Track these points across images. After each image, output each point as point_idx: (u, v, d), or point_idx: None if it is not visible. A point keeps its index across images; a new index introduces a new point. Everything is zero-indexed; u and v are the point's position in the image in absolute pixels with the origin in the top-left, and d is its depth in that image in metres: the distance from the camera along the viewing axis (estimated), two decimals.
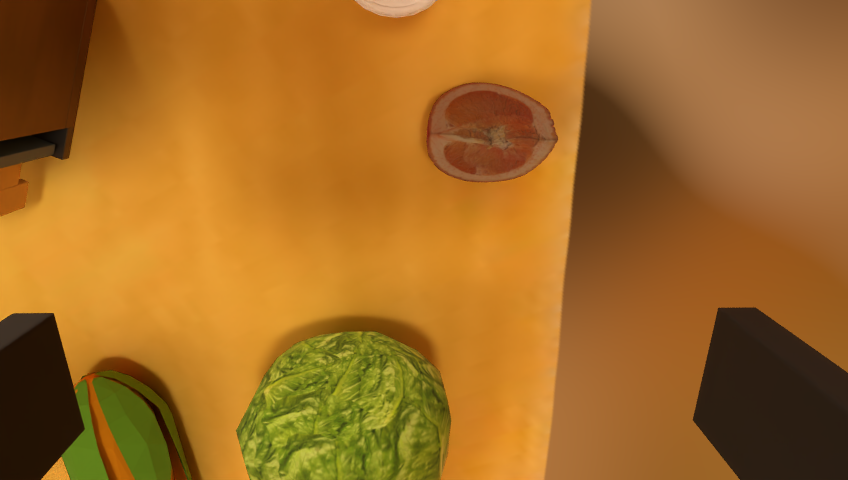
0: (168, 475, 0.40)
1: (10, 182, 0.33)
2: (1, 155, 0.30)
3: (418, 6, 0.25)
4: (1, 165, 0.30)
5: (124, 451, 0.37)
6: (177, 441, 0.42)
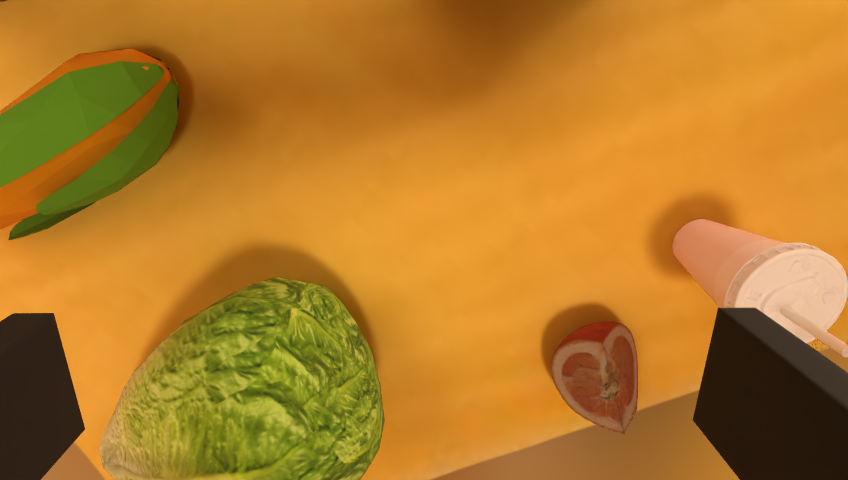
0: (74, 207, 0.30)
1: None
2: None
3: None
4: None
5: (102, 164, 0.27)
6: None
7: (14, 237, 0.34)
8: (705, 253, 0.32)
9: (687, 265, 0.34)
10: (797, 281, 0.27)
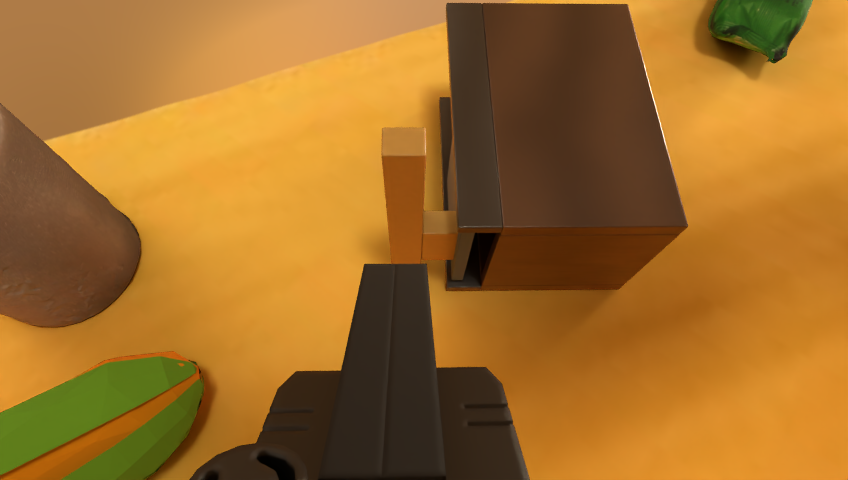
0: None
1: (427, 255, 0.32)
2: (469, 250, 0.31)
3: None
4: (460, 252, 0.30)
5: (97, 461, 0.25)
6: None
7: None
8: None
9: None
10: None
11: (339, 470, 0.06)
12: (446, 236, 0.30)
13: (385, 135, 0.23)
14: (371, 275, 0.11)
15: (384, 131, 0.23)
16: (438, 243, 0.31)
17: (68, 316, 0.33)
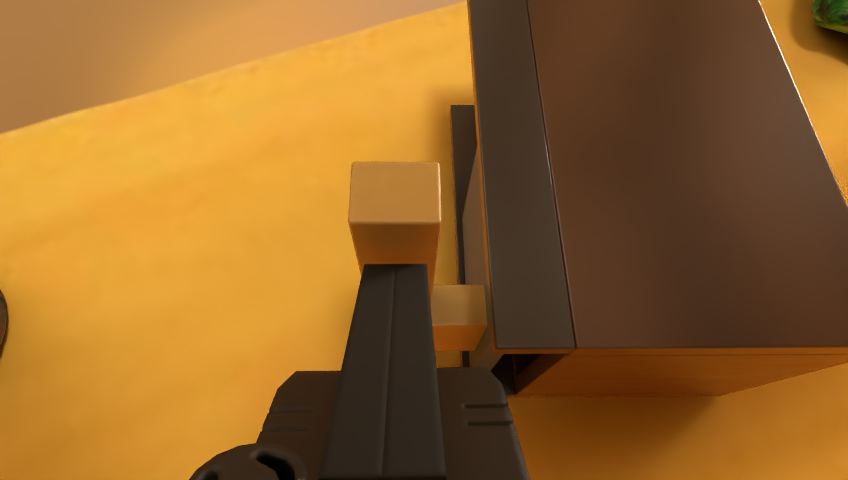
0: None
1: (435, 346, 0.21)
2: None
3: None
4: (490, 352, 0.19)
5: None
6: None
7: None
8: None
9: None
10: None
11: (339, 470, 0.06)
12: (467, 328, 0.18)
13: (358, 178, 0.11)
14: (371, 275, 0.11)
15: (356, 170, 0.11)
16: (453, 335, 0.19)
17: None
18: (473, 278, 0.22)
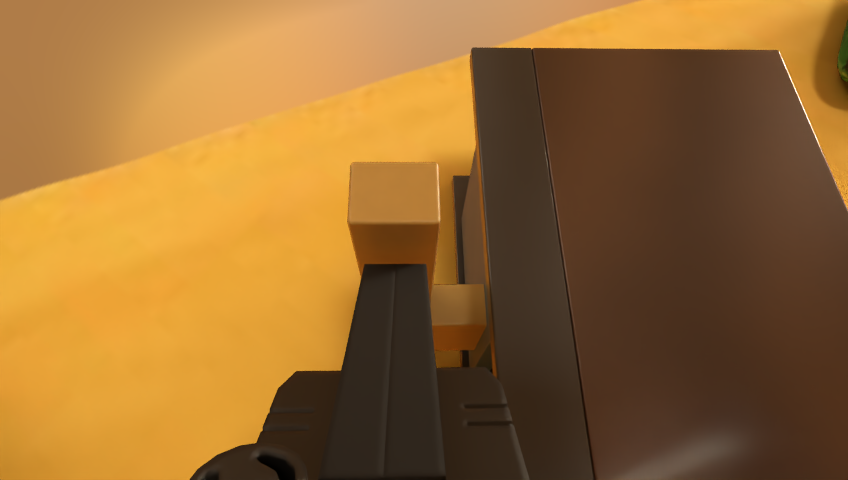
0: None
1: (434, 346, 0.21)
2: None
3: None
4: (489, 351, 0.19)
5: None
6: None
7: None
8: None
9: None
10: None
11: (339, 470, 0.06)
12: (467, 328, 0.18)
13: (356, 178, 0.11)
14: (371, 275, 0.11)
15: (354, 170, 0.11)
16: (452, 335, 0.19)
17: None
18: (472, 278, 0.22)
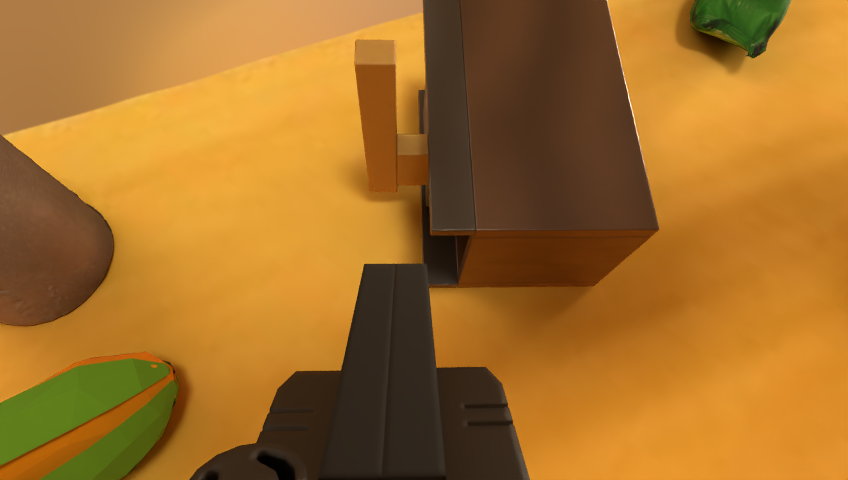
0: None
1: (402, 179, 0.35)
2: None
3: None
4: None
5: (69, 464, 0.25)
6: None
7: None
8: None
9: None
10: None
11: (339, 470, 0.06)
12: (419, 157, 0.32)
13: (358, 46, 0.25)
14: (371, 275, 0.11)
15: (357, 42, 0.25)
16: (412, 166, 0.33)
17: (39, 315, 0.32)
18: None
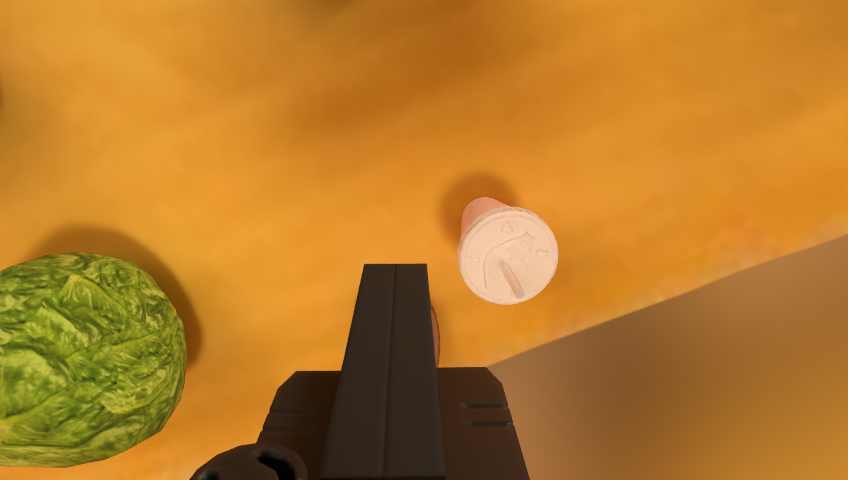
0: None
1: None
2: None
3: (474, 290, 0.32)
4: None
5: None
6: None
7: None
8: (464, 224, 0.36)
9: None
10: (509, 240, 0.31)
11: (339, 470, 0.06)
12: None
13: None
14: (371, 275, 0.11)
15: None
16: None
17: None
18: None
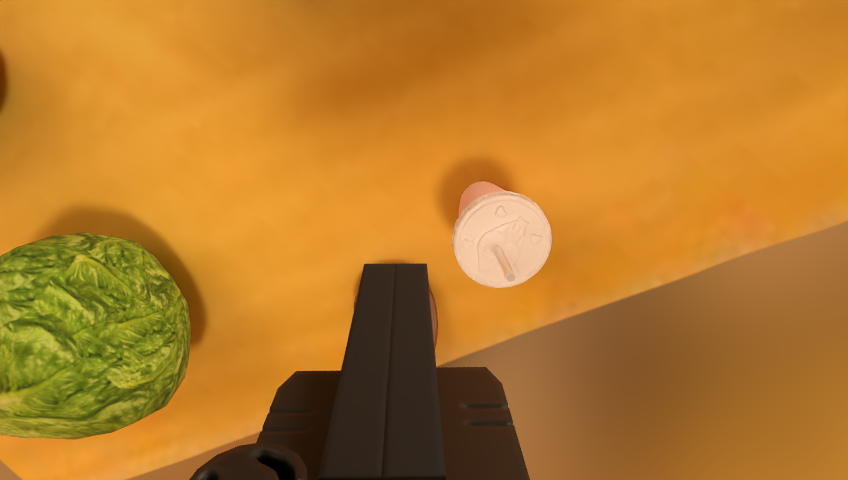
0: None
1: None
2: None
3: (468, 273, 0.33)
4: None
5: None
6: None
7: None
8: (461, 208, 0.36)
9: None
10: (503, 224, 0.31)
11: (339, 470, 0.06)
12: None
13: None
14: (371, 275, 0.11)
15: None
16: None
17: None
18: None
